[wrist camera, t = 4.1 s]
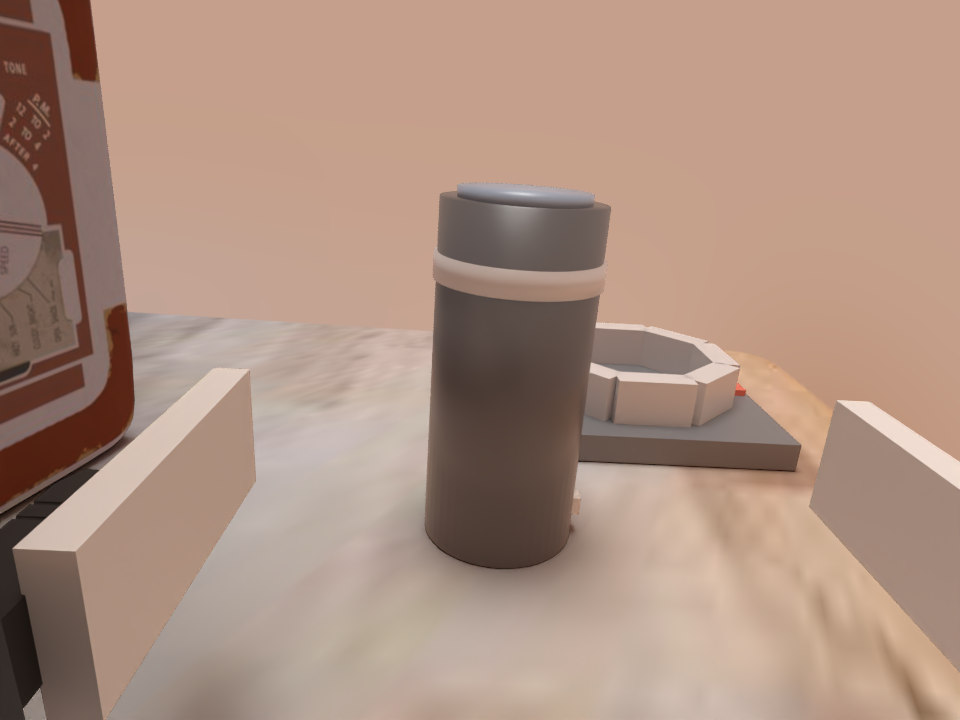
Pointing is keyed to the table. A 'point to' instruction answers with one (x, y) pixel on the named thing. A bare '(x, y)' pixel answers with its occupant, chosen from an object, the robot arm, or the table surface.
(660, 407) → the mount plate
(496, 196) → the lens
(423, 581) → the table surface
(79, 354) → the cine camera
